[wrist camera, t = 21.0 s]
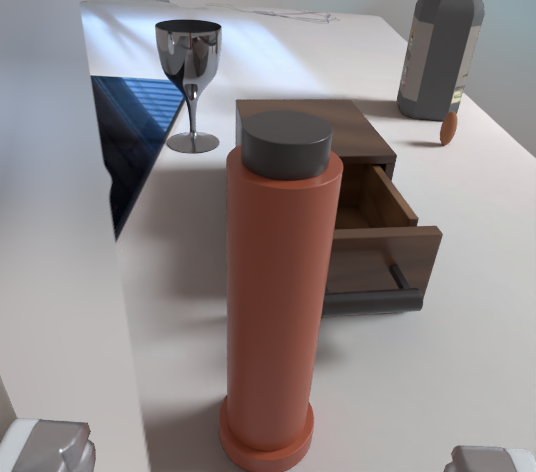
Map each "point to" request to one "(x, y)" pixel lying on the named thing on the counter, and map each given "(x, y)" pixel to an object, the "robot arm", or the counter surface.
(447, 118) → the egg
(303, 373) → the pepper mill
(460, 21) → the liquor
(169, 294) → the counter surface
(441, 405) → the counter surface
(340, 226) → the drawer
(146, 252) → the counter surface
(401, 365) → the counter surface
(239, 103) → the cabinet
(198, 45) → the wine glass
